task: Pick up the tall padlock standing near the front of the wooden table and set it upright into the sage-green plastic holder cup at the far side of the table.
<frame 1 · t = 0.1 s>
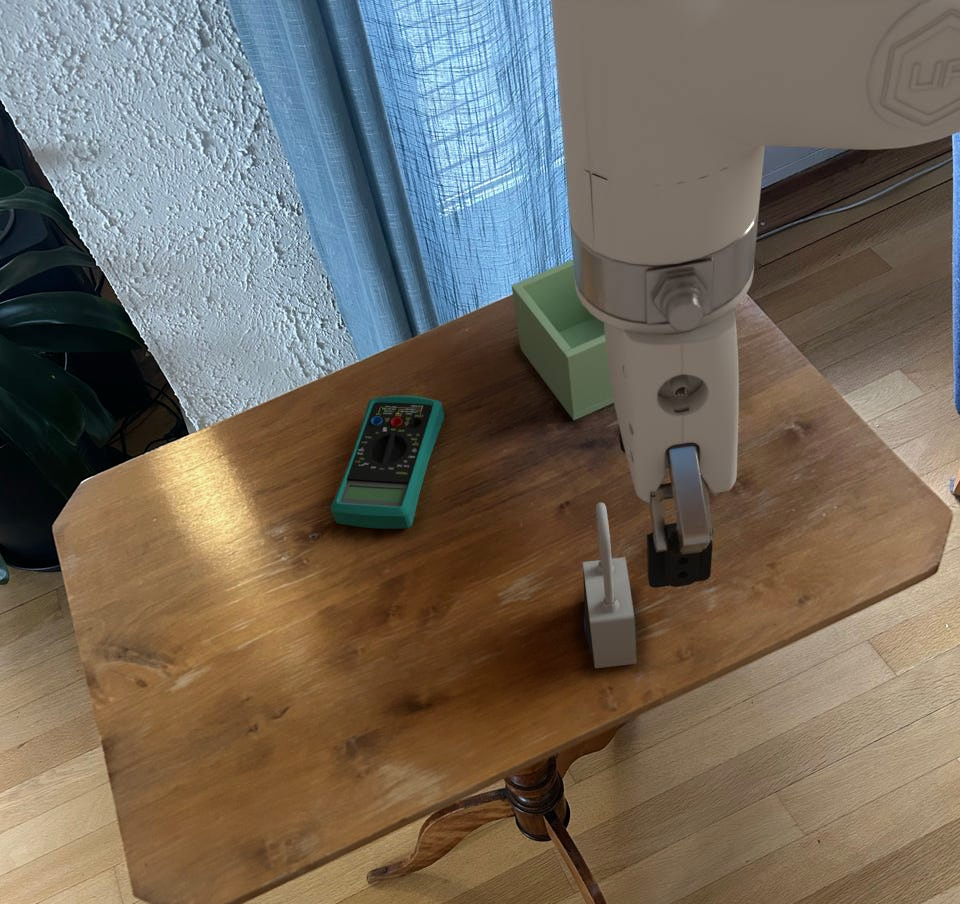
hand: (662, 509, 57), 25 cm above the table, tool pointing down, fingers open, 9 cm apart
padlock: (611, 632, 83), on the table
holder: (608, 356, 100), on the table
digital multimeter: (393, 472, 96), on the table
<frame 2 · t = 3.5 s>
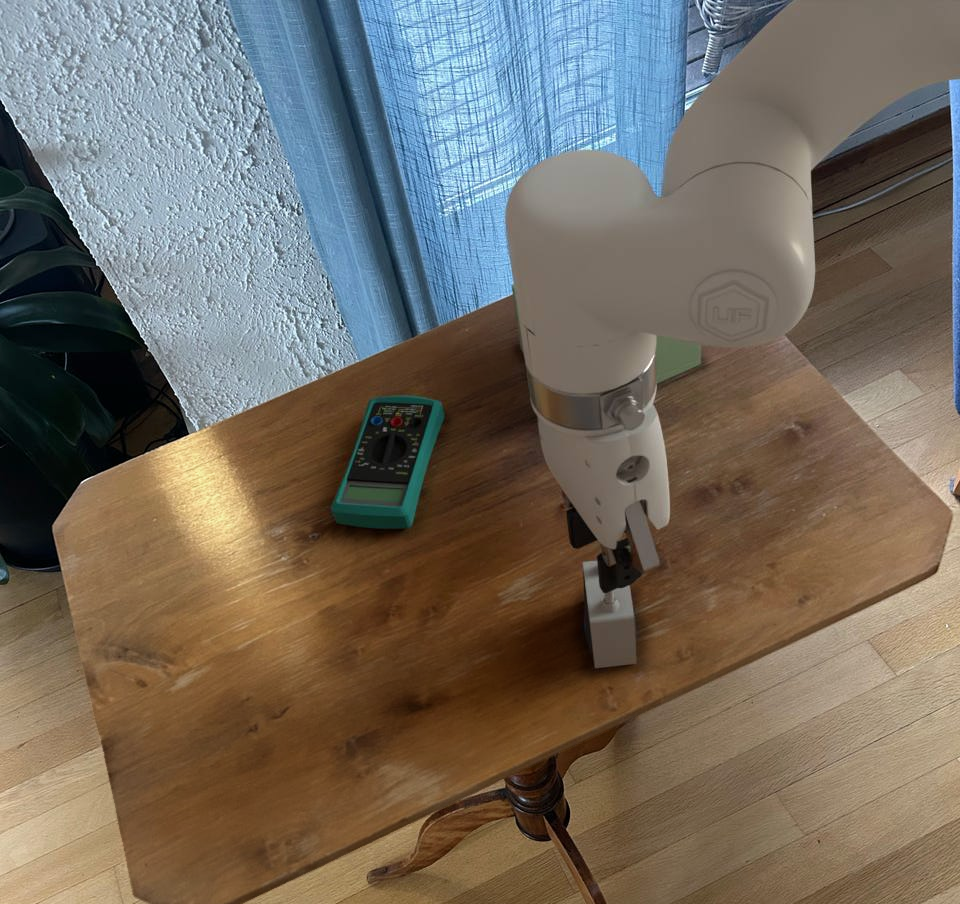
hand: (605, 559, 75), 10 cm above the table, tool pointing down, fingers closed on padlock, 3 cm apart
padlock: (611, 632, 83), on the table, touching gripper
everything else where it was.
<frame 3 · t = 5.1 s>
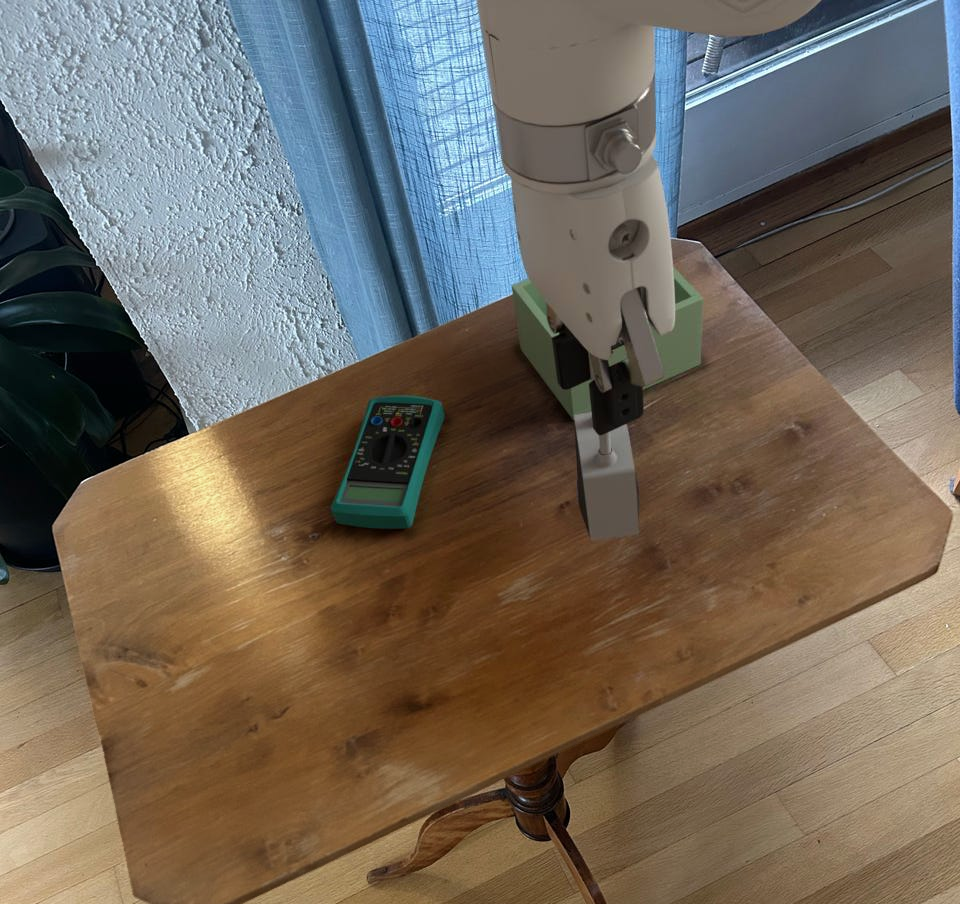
hand: (599, 398, 63), 24 cm above the table, tool pointing down, fingers closed on padlock, 3 cm apart
padlock: (608, 502, 72), point 14 cm above the table, touching gripper
everything else where it was.
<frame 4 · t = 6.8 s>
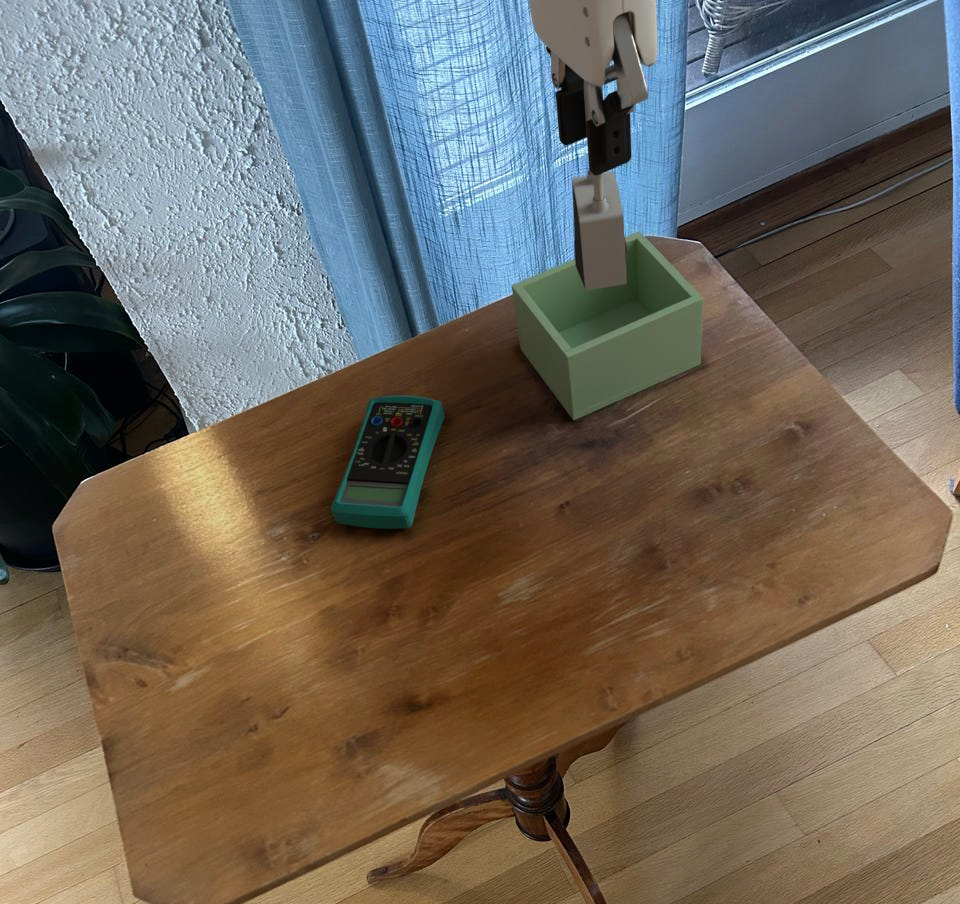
hand: (594, 149, 76), 25 cm above the table, tool pointing down, fingers closed on padlock, 3 cm apart
padlock: (601, 263, 84), point 16 cm above the table, touching gripper
everything else where it was.
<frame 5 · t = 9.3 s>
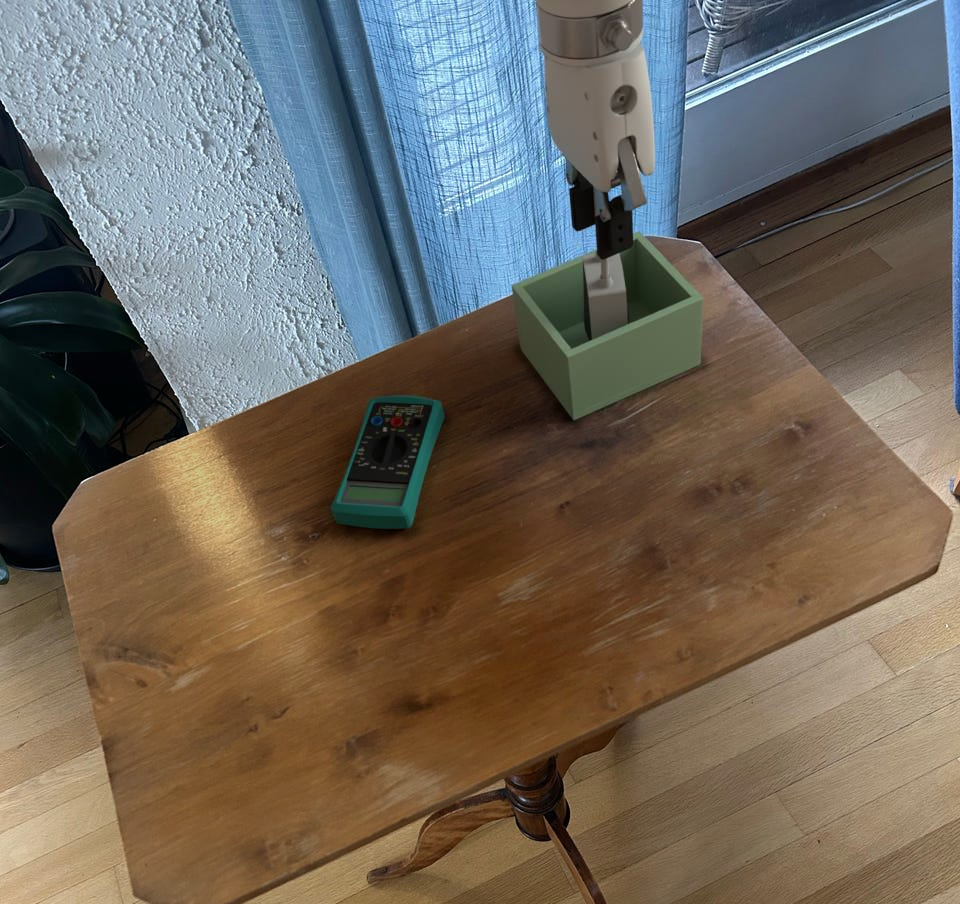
hand: (602, 236, 89), 14 cm above the table, tool pointing down, fingers closed on padlock, 3 cm apart
padlock: (606, 326, 97), point 4 cm above the table, touching gripper
everything else where it was.
when the fingers open (10 cm above the table, at t = 10.6 s): padlock stays where it is, resting on holder.
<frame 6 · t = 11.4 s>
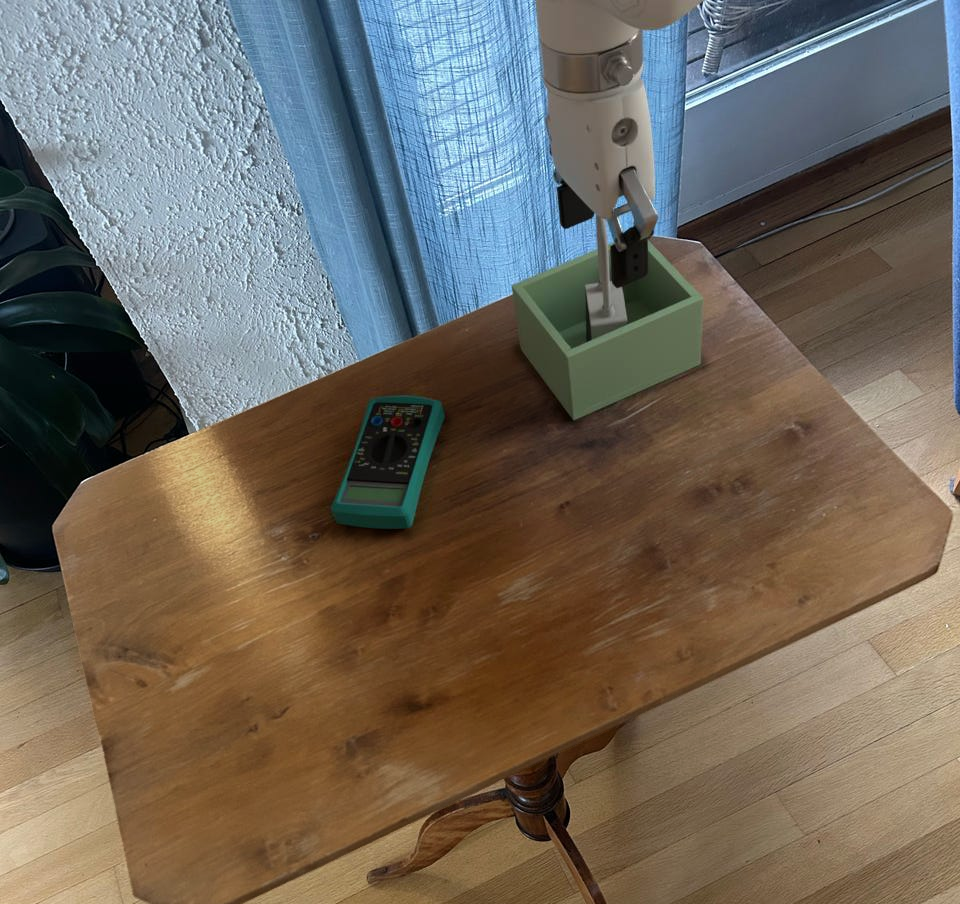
hand: (603, 250, 90), 12 cm above the table, tool pointing down, fingers open, 9 cm apart
padlock: (608, 352, 99), point 1 cm above the table, touching holder
everything else where it was.
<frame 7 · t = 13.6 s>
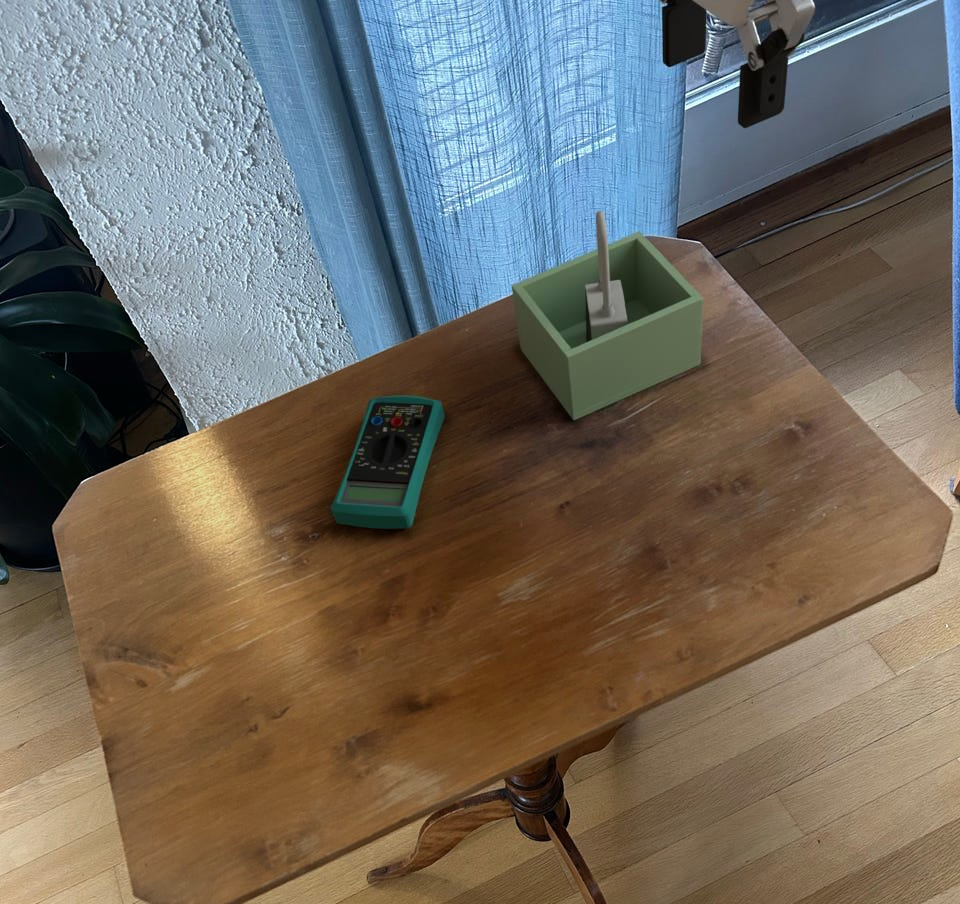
hand: (720, 88, 70), 29 cm above the table, tool pointing down, fingers open, 9 cm apart
nothing on the table moved.
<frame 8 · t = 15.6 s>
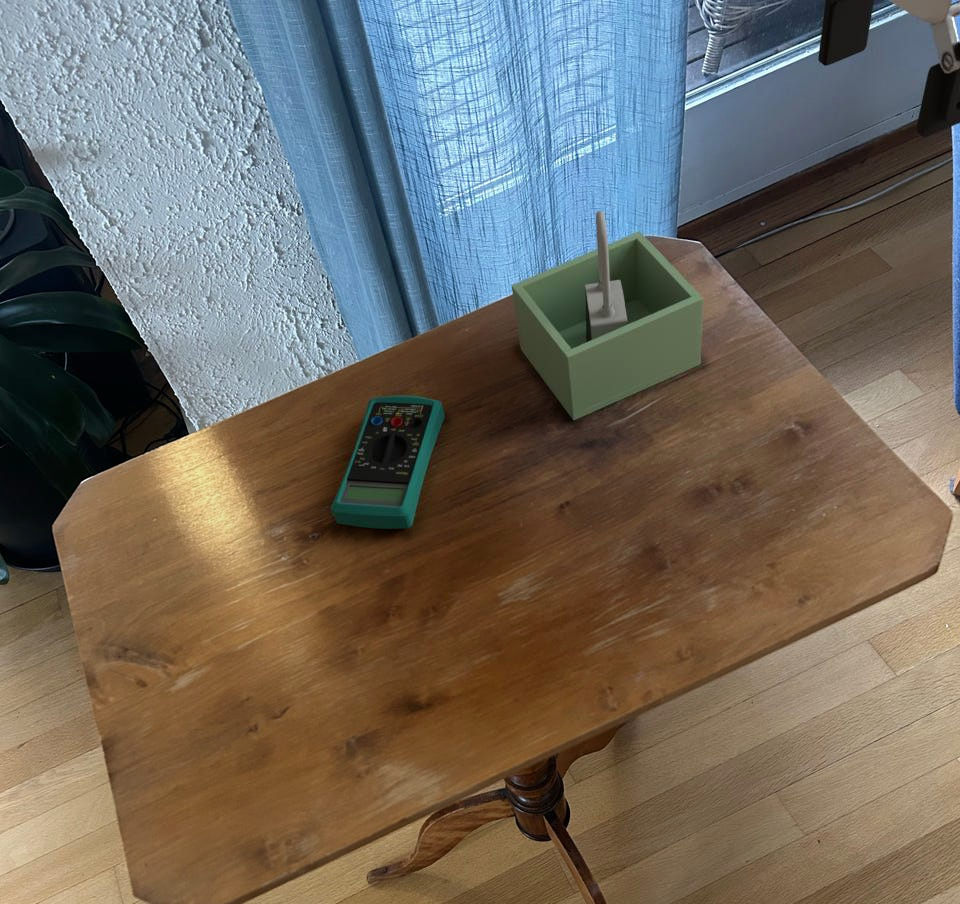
hand: (889, 90, 63), 32 cm above the table, tool pointing down, fingers open, 9 cm apart
nothing on the table moved.
at the end: padlock 0.1 cm off-centre in the holder, point 0.6 cm above the holder's base; padlock tilted 0°; the gripper is holding nothing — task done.
